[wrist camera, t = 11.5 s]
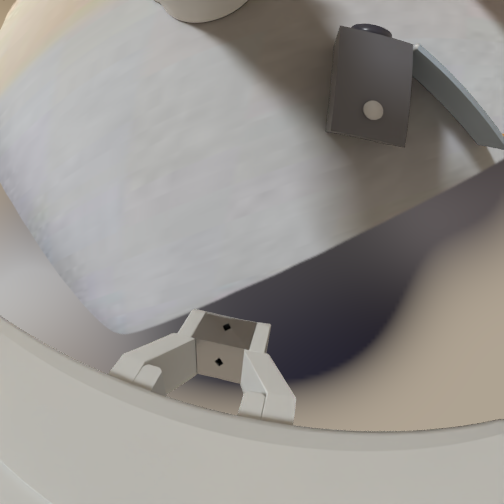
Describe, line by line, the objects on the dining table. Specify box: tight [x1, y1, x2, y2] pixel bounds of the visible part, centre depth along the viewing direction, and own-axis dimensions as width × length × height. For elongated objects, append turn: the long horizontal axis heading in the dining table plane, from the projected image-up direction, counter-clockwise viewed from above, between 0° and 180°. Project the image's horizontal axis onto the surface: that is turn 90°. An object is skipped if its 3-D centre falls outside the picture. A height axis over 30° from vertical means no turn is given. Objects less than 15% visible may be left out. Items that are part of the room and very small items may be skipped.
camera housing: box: [326, 24, 413, 147], centre depth 26 cm, size 14×8×9 cm, turn 174°
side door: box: [412, 44, 504, 150], centre depth 24 cm, size 16×2×8 cm, turn 55°
